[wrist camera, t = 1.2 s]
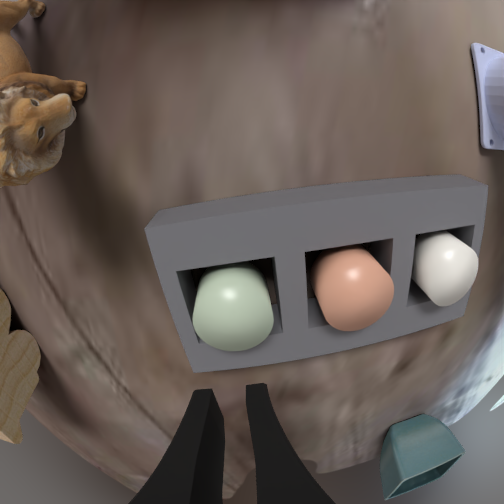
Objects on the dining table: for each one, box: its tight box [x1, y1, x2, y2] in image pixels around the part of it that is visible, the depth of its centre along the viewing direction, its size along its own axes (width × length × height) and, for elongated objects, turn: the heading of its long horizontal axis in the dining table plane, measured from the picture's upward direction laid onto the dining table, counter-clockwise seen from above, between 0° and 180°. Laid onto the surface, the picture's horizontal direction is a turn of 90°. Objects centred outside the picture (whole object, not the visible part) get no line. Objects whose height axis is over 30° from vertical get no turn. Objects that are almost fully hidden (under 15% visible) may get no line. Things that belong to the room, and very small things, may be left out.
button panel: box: [144, 175, 488, 373], centre depth 17 cm, size 20×10×3 cm, turn 98°
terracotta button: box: [310, 244, 394, 331], centre depth 16 cm, size 4×4×3 cm
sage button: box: [193, 261, 274, 351], centre depth 16 cm, size 4×4×3 cm
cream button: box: [411, 230, 478, 306], centre depth 16 cm, size 4×4×3 cm
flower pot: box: [380, 414, 466, 500], centre depth 26 cm, size 9×9×9 cm
